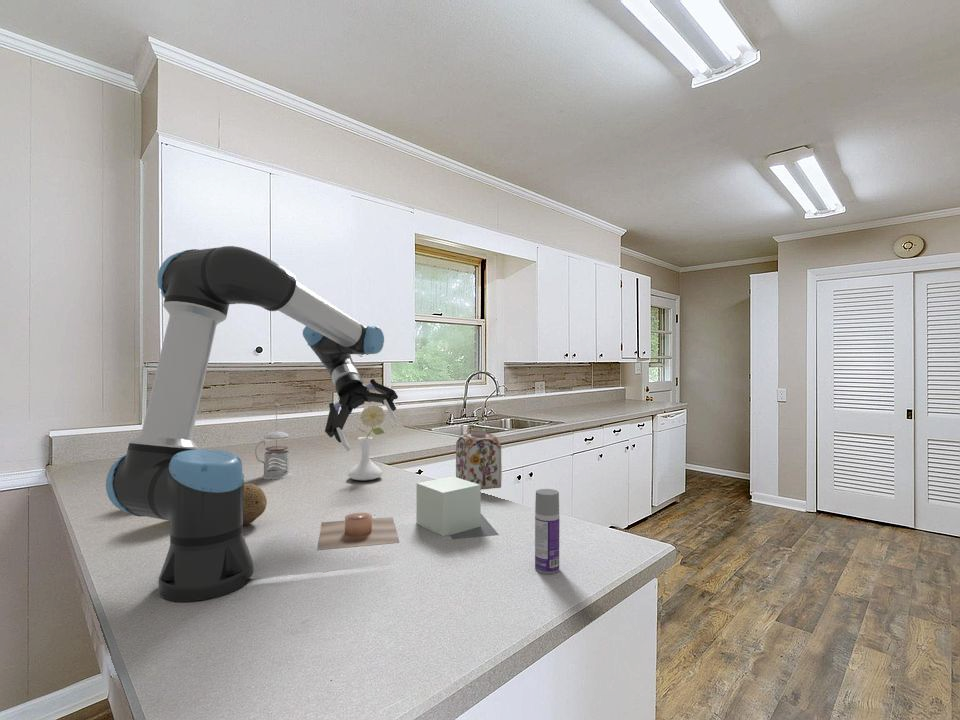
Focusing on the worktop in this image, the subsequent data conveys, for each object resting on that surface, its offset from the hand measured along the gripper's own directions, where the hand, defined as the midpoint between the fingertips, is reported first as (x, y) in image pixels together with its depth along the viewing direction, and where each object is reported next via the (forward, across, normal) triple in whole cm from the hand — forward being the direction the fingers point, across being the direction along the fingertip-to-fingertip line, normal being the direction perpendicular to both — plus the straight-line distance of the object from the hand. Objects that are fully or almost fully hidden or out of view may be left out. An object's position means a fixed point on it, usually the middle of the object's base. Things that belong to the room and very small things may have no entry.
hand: (371, 433), depth 125 cm
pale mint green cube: (+24, -5, -17) cm, 29 cm away
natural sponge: (+1, +37, -5) cm, 37 cm away
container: (+50, -19, -7) cm, 54 cm away
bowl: (+18, +13, -7) cm, 23 cm away
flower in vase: (-24, +14, -42) cm, 50 cm away
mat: (+24, -5, -17) cm, 30 cm away
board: (+18, +13, -8) cm, 24 cm away
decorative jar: (-1, -17, -47) cm, 50 cm away
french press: (-41, +41, -35) cm, 68 cm away
